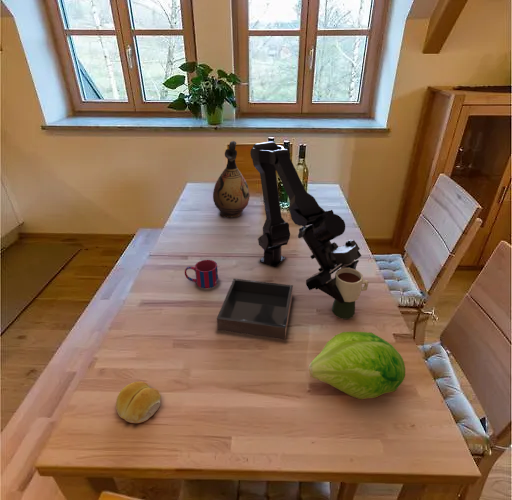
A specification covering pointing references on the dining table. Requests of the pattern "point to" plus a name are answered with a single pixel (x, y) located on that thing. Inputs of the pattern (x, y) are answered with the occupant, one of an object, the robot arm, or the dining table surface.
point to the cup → (205, 273)
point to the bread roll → (137, 402)
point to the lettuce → (359, 365)
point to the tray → (256, 309)
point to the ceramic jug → (231, 187)
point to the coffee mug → (348, 291)
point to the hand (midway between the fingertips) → (350, 296)
